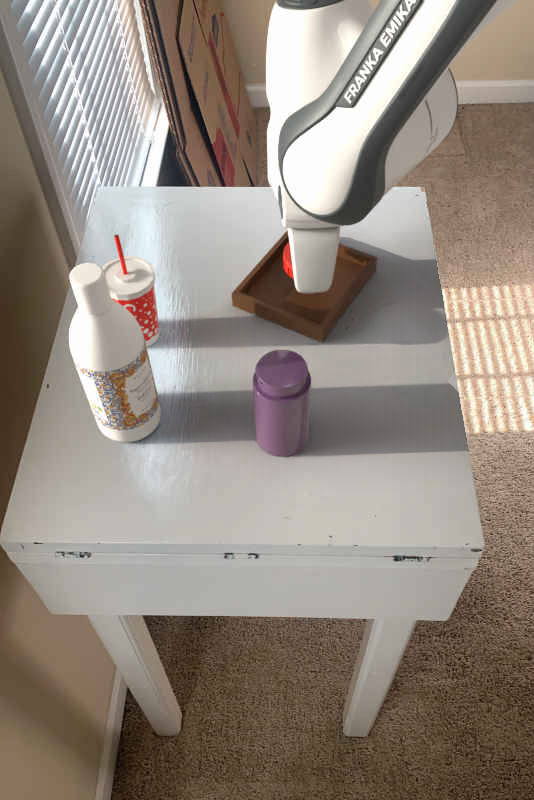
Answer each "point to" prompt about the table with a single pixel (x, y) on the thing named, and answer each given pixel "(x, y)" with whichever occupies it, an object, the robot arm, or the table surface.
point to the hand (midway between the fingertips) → (305, 268)
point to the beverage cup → (134, 290)
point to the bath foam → (112, 359)
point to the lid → (288, 260)
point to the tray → (302, 313)
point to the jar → (281, 402)
